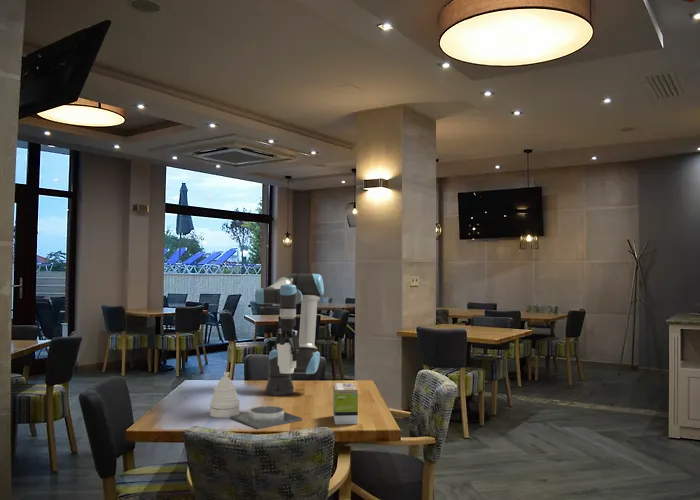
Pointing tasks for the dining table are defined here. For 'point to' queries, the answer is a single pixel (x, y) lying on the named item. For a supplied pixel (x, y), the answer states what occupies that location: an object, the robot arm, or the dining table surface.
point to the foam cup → (284, 358)
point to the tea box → (345, 403)
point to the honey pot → (224, 399)
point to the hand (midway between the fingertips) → (286, 366)
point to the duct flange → (265, 417)
